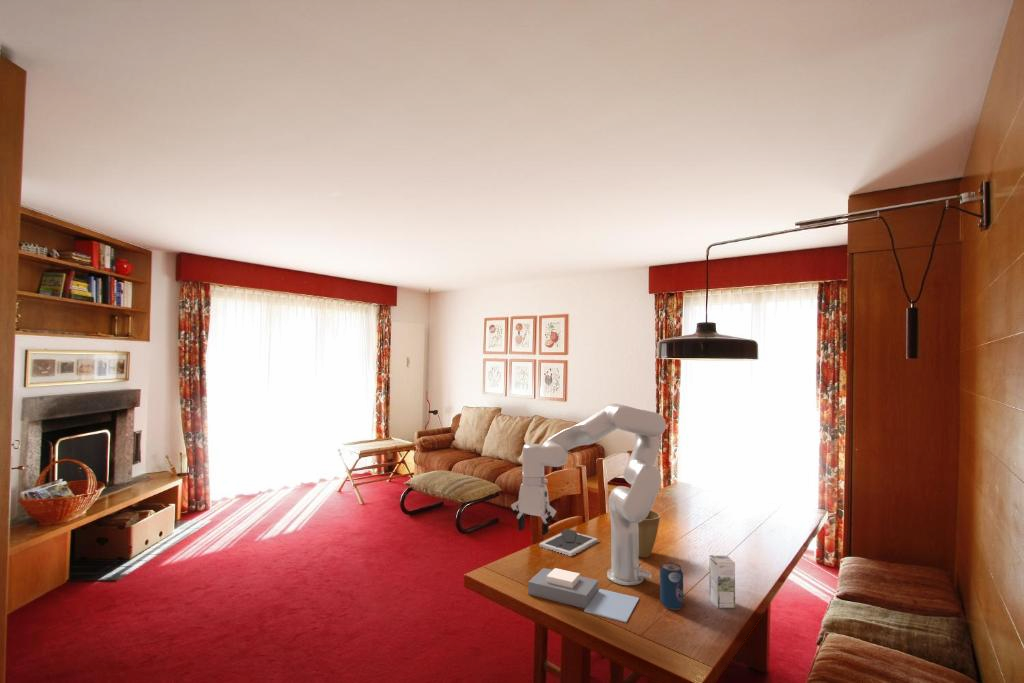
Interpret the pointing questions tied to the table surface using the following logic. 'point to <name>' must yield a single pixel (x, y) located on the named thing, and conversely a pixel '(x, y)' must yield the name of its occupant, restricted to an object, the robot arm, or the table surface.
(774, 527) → the table surface
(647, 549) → the plant pot
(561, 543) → the picture frame
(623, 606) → the mat
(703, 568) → the table surface
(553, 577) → the white flat block
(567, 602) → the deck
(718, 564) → the syrup box
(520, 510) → the robot arm
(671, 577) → the soda can
